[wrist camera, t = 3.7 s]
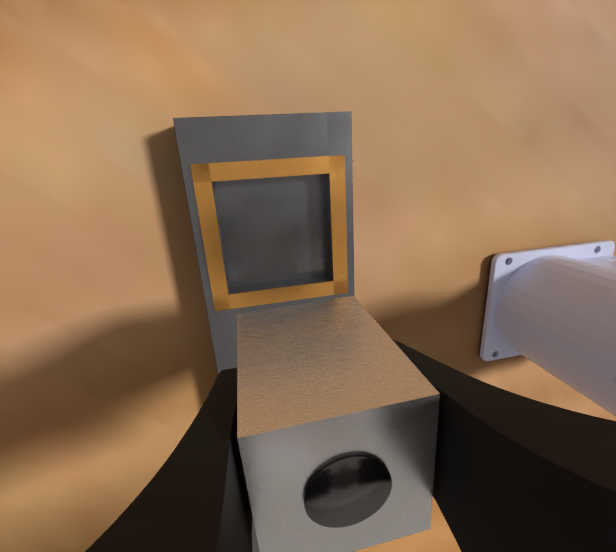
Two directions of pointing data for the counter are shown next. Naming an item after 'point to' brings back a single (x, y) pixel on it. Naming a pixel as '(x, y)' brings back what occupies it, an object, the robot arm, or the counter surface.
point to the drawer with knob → (332, 429)
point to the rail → (268, 214)
